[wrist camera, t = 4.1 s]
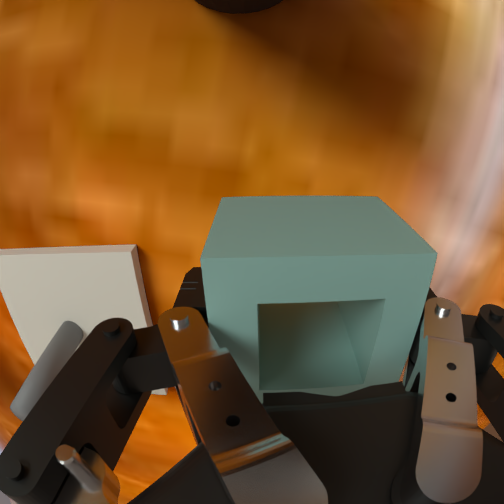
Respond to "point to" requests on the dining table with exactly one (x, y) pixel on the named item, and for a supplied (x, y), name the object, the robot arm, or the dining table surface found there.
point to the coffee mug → (238, 5)
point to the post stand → (67, 304)
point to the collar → (314, 291)
